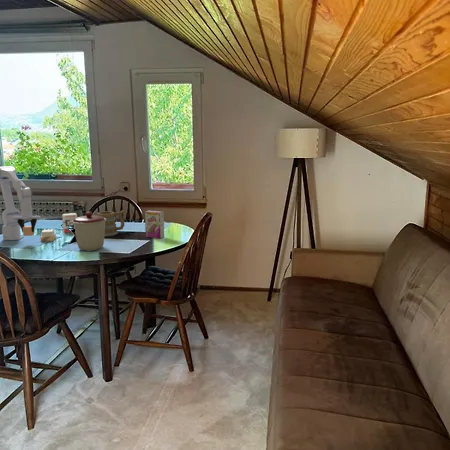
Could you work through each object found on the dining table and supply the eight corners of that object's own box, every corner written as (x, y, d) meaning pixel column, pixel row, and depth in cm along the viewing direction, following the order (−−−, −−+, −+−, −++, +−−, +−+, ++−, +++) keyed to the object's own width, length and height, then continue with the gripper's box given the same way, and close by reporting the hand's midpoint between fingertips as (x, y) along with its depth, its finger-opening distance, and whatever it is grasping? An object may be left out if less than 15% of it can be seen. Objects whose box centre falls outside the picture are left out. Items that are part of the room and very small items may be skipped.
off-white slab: (41, 236, 253) (41, 232, 252) (43, 234, 258) (43, 229, 258) (52, 236, 254) (52, 231, 253) (54, 234, 260) (53, 229, 259)
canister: (108, 251, 230) (106, 213, 226) (73, 254, 225) (70, 215, 221) (107, 243, 247) (105, 208, 243) (74, 246, 242) (72, 209, 238)
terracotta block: (23, 235, 242) (22, 227, 241) (25, 234, 247) (24, 225, 246) (31, 235, 243) (30, 227, 242) (33, 233, 247) (33, 225, 246)
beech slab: (40, 241, 253) (40, 237, 252) (44, 239, 260) (43, 234, 259) (53, 241, 254) (52, 236, 253) (55, 238, 261) (55, 234, 260)
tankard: (98, 237, 263) (96, 213, 260) (95, 232, 275) (94, 210, 272) (130, 234, 271) (129, 211, 268) (126, 230, 283) (125, 208, 280)
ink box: (65, 233, 274) (63, 215, 272) (63, 231, 278) (61, 214, 276) (78, 231, 279) (77, 213, 276) (76, 230, 283) (75, 212, 280)
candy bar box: (145, 237, 262) (144, 211, 259) (149, 235, 267) (148, 210, 264) (160, 239, 258) (159, 212, 254) (164, 237, 262) (164, 211, 259)
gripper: (10, 210, 237) (12, 233, 240) (37, 209, 239) (39, 233, 242) (14, 208, 244) (16, 231, 246) (41, 207, 246) (43, 230, 249)
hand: (28, 232), depth 245 cm, fingers closed on terracotta block, 4 cm apart
